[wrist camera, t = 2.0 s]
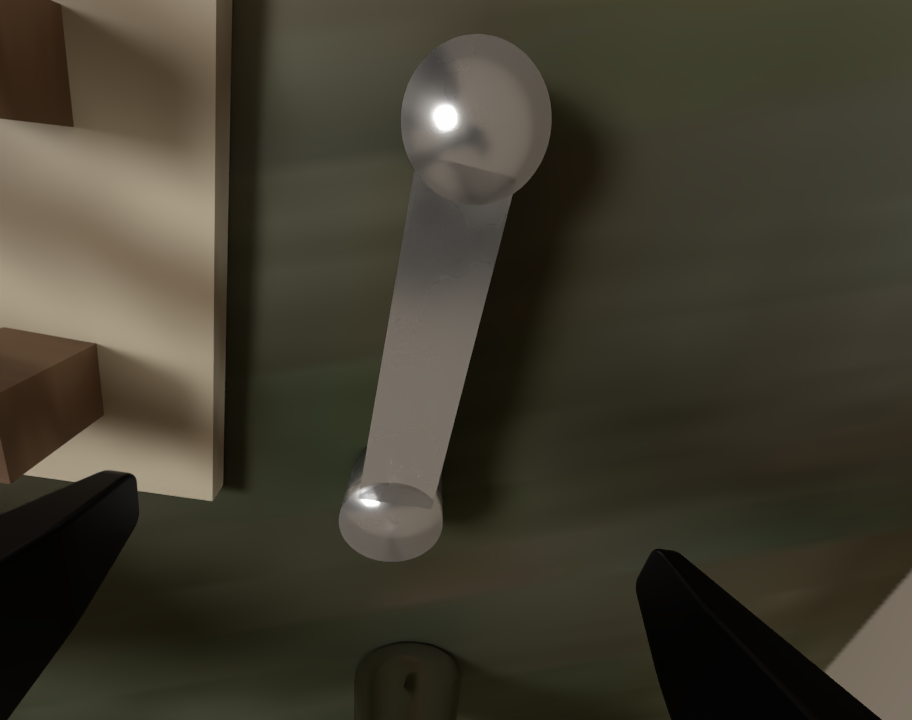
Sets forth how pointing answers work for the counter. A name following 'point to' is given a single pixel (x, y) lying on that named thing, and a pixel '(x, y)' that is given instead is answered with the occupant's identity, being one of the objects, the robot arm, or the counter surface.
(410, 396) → the grey rod with balls
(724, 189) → the counter surface
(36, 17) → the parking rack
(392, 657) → the beer glass
